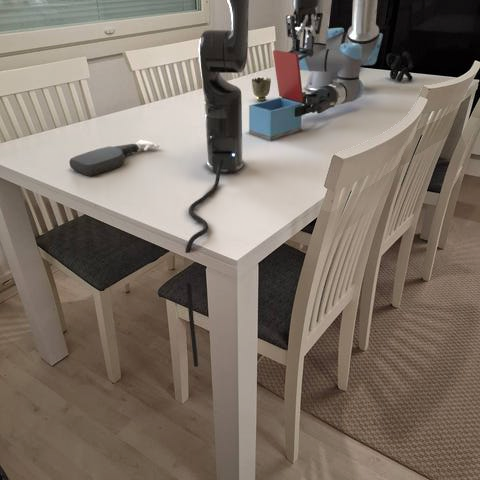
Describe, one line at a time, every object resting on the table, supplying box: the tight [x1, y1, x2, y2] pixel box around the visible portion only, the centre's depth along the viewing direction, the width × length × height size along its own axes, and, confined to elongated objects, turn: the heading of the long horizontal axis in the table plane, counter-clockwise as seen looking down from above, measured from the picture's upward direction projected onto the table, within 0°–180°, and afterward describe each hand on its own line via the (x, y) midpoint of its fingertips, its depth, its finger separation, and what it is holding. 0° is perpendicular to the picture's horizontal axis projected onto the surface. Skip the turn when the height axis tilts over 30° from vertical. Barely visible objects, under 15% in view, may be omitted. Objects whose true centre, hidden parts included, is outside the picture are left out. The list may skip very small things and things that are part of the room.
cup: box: [251, 76, 272, 102], centre depth 173 cm, size 8×7×8 cm
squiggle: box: [385, 51, 414, 83], centre depth 198 cm, size 11×10×15 cm
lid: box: [272, 46, 314, 102], centre depth 139 cm, size 14×10×9 cm
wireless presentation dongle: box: [68, 139, 160, 177], centre depth 124 cm, size 3×11×24 cm
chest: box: [248, 97, 303, 141], centre depth 141 cm, size 14×10×9 cm
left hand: (302, 51), depth 137 cm, fingers open, 5 cm apart
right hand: (283, 108), depth 142 cm, fingers closed on chest, 10 cm apart
